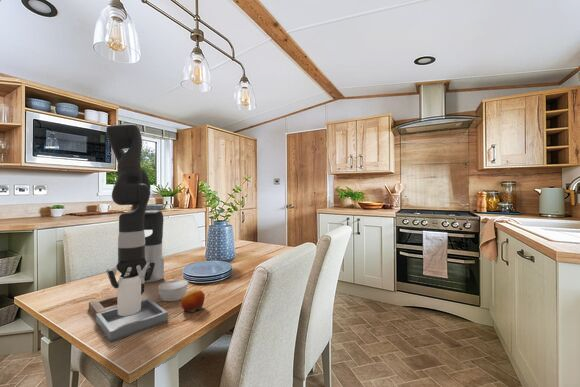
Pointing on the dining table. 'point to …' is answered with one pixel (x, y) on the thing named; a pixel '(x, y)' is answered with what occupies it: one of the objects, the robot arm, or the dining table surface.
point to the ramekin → (172, 290)
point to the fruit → (193, 300)
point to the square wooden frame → (103, 304)
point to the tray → (130, 320)
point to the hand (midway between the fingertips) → (131, 296)
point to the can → (129, 295)
